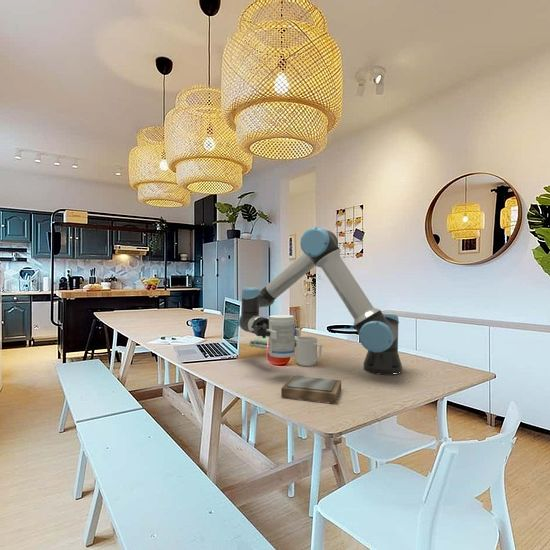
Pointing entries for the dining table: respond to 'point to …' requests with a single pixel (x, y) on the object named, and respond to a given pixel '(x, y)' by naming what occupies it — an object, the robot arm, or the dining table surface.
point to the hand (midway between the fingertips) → (287, 334)
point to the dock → (311, 389)
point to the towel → (262, 342)
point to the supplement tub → (282, 336)
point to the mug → (307, 351)
